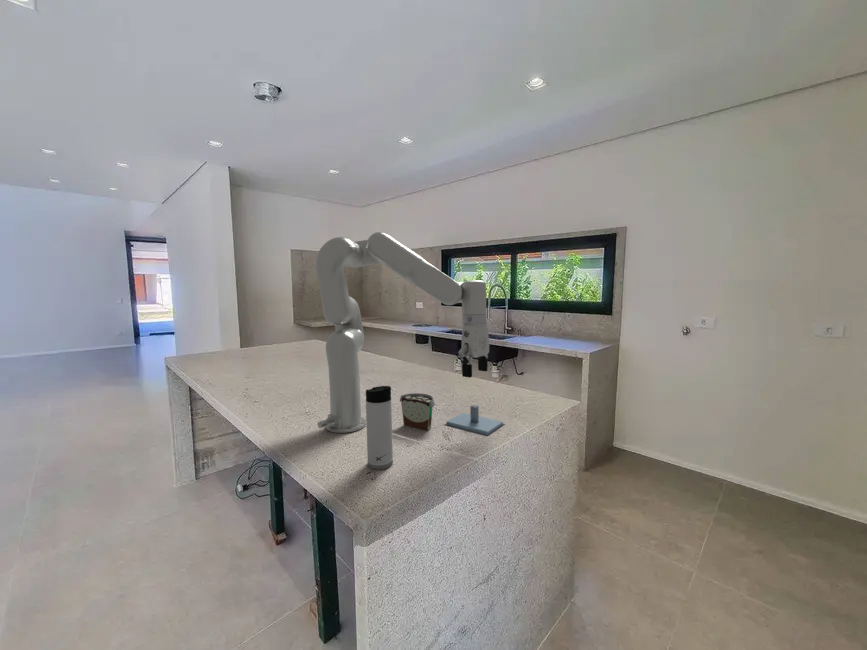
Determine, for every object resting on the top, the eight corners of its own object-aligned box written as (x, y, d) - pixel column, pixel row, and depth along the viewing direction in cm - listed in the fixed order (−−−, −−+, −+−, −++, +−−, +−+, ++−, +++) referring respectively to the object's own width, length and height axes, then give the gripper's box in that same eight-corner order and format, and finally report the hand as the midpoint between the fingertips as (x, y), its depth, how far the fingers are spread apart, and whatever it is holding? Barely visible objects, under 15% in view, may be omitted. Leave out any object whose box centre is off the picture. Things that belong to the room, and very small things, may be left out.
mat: (487, 437, 106) (487, 436, 106) (443, 426, 115) (443, 424, 115) (505, 425, 115) (505, 424, 115) (463, 415, 125) (463, 414, 125)
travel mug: (383, 472, 86) (380, 391, 84) (362, 466, 89) (360, 387, 88) (398, 462, 91) (397, 385, 89) (379, 456, 95) (377, 381, 93)
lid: (487, 434, 107) (487, 415, 106) (446, 424, 116) (446, 406, 115) (502, 424, 115) (502, 406, 114) (463, 415, 124) (463, 398, 123)
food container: (442, 426, 115) (442, 396, 114) (432, 433, 110) (431, 401, 109) (411, 419, 122) (410, 390, 121) (400, 425, 116) (399, 395, 115)
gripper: (470, 322, 103) (471, 381, 105) (497, 318, 117) (498, 370, 118) (448, 322, 108) (450, 377, 109) (477, 317, 121) (478, 367, 123)
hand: (475, 373), depth 114 cm, fingers open, 9 cm apart
